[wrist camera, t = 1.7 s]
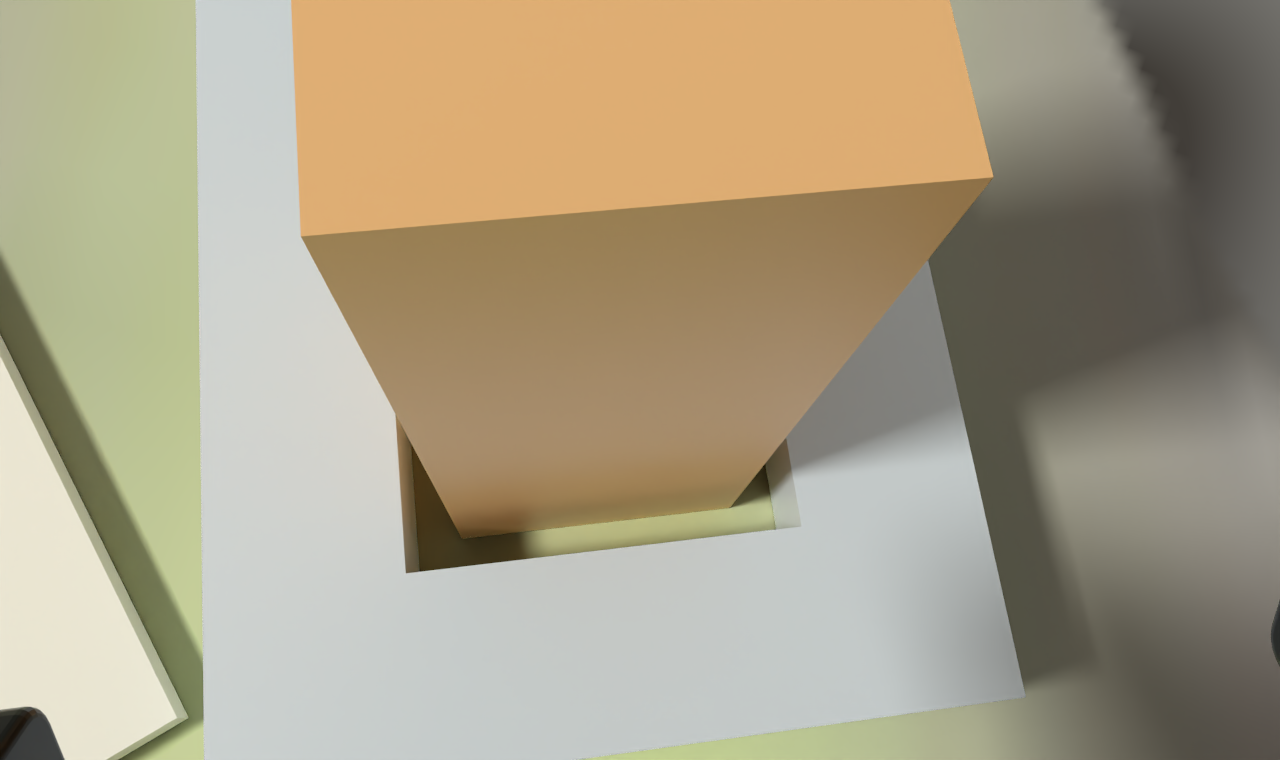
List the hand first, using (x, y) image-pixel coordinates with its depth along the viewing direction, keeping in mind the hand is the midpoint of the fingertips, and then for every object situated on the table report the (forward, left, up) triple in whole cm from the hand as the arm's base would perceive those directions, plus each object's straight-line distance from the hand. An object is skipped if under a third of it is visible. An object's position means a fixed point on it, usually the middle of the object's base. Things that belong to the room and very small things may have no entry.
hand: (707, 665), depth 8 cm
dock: (+7, +4, -12) cm, 14 cm away
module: (+5, +3, -12) cm, 13 cm away
